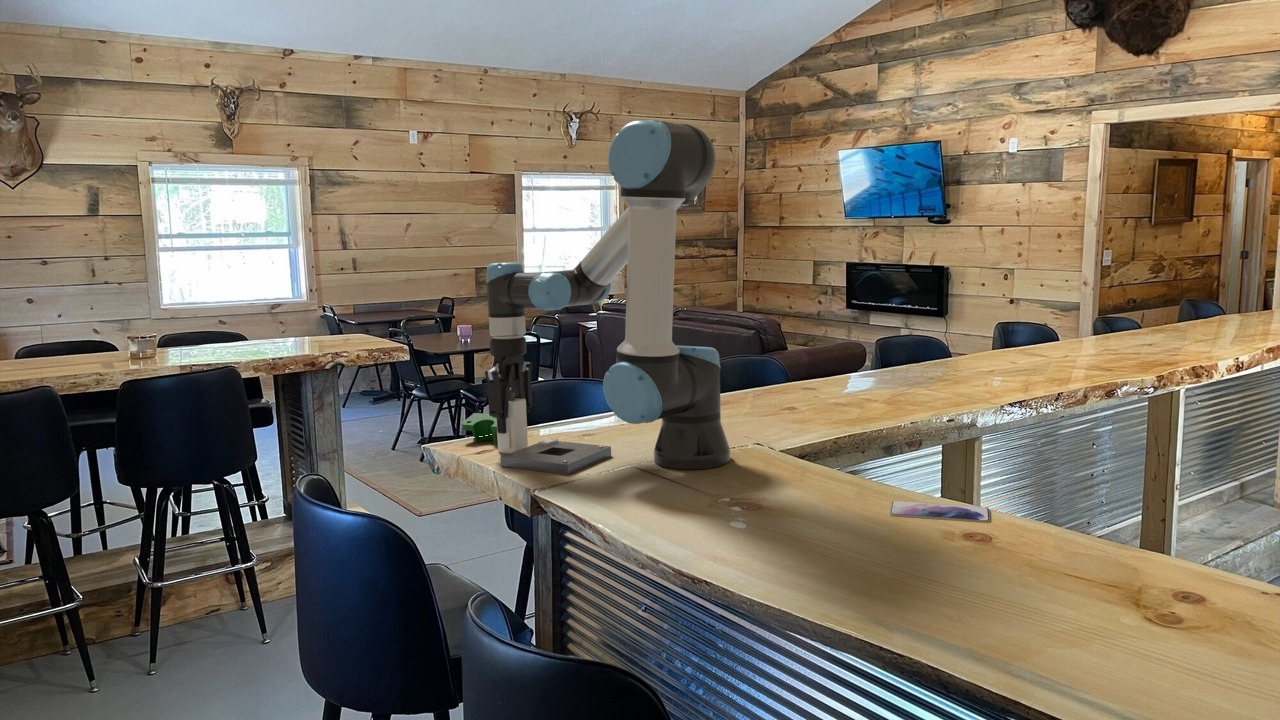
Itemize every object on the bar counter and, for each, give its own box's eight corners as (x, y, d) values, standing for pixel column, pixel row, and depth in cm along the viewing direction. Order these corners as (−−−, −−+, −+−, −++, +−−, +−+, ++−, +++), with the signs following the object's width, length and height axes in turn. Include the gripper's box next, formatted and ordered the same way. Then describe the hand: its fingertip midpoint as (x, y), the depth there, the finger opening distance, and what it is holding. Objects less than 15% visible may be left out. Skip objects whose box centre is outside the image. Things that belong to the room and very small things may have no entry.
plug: (528, 449, 198) (525, 389, 196) (515, 454, 194) (512, 393, 192) (511, 447, 200) (508, 388, 198) (498, 452, 196) (495, 391, 195)
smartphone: (990, 521, 141) (889, 513, 146) (990, 526, 141) (889, 518, 146) (989, 506, 147) (892, 500, 152) (989, 511, 147) (892, 505, 152)
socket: (611, 456, 190) (610, 443, 190) (567, 474, 176) (567, 460, 176) (547, 449, 198) (546, 436, 197) (500, 466, 184) (500, 453, 184)
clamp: (475, 461, 207) (454, 426, 206) (488, 449, 213) (468, 415, 211) (514, 445, 202) (493, 409, 200) (527, 433, 207) (507, 398, 205)
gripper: (518, 331, 203) (523, 435, 206) (466, 340, 188) (472, 452, 191) (546, 332, 200) (551, 438, 203) (495, 342, 184) (501, 456, 188)
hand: (512, 445), depth 197 cm, fingers closed on plug, 4 cm apart
